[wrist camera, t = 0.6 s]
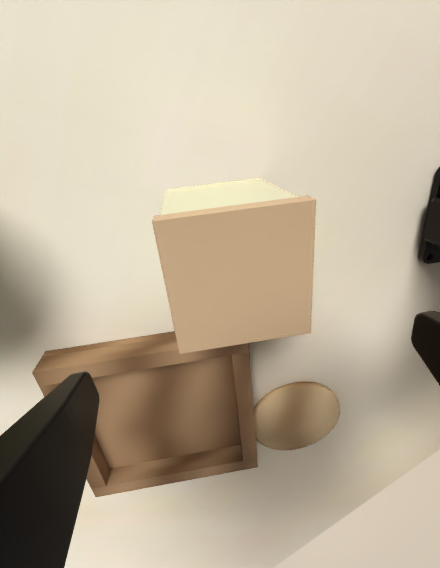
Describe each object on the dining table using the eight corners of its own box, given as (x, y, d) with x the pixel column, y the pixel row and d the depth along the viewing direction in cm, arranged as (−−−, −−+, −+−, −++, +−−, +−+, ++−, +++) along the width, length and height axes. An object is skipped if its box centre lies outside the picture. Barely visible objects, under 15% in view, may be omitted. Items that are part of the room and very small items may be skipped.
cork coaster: (327, 369, 25) (330, 373, 25) (344, 427, 29) (346, 431, 28) (238, 402, 26) (239, 407, 25) (265, 455, 29) (266, 460, 29)
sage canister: (262, 174, 18) (316, 199, 11) (265, 265, 20) (310, 333, 13) (163, 187, 17) (152, 221, 10) (179, 277, 20) (179, 353, 13)
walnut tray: (242, 320, 22) (248, 338, 20) (252, 444, 28) (257, 467, 26) (45, 351, 21) (32, 372, 19) (101, 472, 27) (95, 497, 25)
